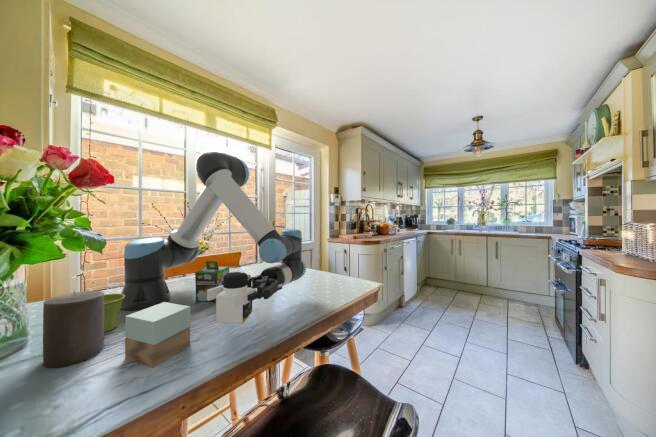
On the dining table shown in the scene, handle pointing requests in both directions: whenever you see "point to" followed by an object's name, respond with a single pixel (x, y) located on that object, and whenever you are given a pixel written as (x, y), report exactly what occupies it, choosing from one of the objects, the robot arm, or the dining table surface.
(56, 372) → the dining table surface
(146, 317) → the tower top block
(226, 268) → the chalk box
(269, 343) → the dining table surface
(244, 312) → the medicine bottle
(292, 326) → the dining table surface
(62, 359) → the pillar candle
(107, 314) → the plant pot
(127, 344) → the tower base block
